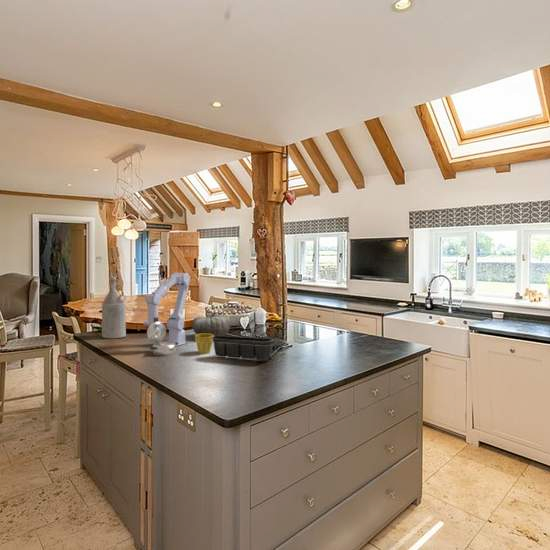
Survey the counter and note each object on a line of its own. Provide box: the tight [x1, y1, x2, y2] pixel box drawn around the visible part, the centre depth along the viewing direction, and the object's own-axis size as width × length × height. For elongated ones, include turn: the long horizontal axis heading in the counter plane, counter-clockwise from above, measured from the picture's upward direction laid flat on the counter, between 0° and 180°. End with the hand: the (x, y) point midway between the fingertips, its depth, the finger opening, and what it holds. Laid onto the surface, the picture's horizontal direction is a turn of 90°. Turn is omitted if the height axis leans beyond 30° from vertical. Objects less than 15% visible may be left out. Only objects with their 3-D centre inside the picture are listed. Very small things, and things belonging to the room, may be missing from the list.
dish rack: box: [212, 329, 287, 360], centre depth 226 cm, size 34×44×12 cm
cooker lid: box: [146, 316, 167, 344], centre depth 223 cm, size 12×14×1 cm
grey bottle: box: [101, 276, 127, 339], centre depth 259 cm, size 13×17×40 cm
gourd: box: [191, 311, 231, 336], centre depth 265 cm, size 25×25×17 cm
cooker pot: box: [149, 341, 179, 357], centre depth 219 cm, size 17×12×5 cm
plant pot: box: [194, 334, 214, 355], centre depth 223 cm, size 10×10×10 cm
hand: (152, 338), depth 225 cm, fingers closed
